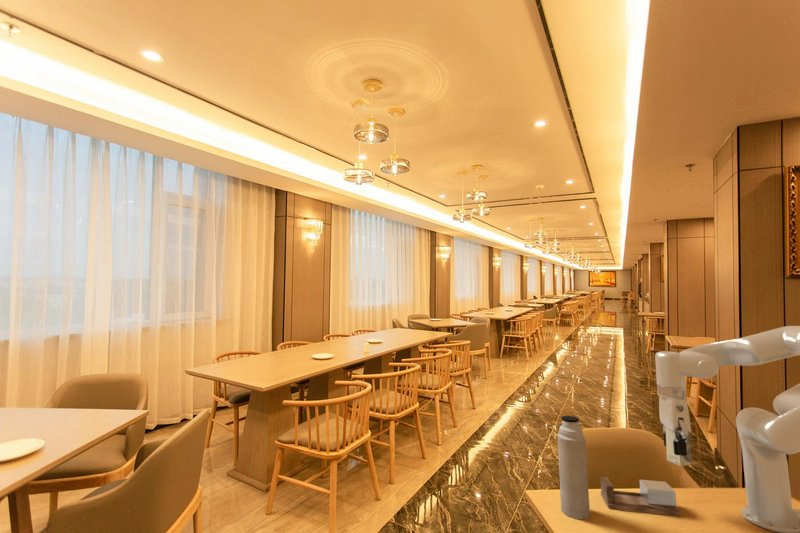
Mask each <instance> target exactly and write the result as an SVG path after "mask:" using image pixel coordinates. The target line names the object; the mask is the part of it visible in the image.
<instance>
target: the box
mask: <svg viewBox="0 0 800 533" xmlns="http://www.w3.org/2000/svg"><path fill="white" fill-rule="evenodd" d="M665 428H666V447H665V448H666V461H668V462H670V463H672V464H675V465H677V466H679V467H682V466H683V467H684V466H690V465H692V449H691V448H692V446H691V432H689V433H688V436H687V439H686V440H687V442H686V448H687V456H682V455H675V454H674V445H673V441H675V439H674V435H673V431H672V430H671V429H669V428H668V427H666V426H665ZM676 430H678V431H681V430H680V429H676ZM679 434H681V433H677V437H678V435H679Z"/></svg>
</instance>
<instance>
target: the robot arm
mask: <svg viewBox="0 0 800 533" xmlns="http://www.w3.org/2000/svg"><path fill="white" fill-rule="evenodd" d="M796 356H800V325H786V326H781V327H777V328H773V329H770V330H766V331H761V332H759V333H755V334H750V335H747V336H743V337H739V338H733V339H727V340H722V341H716V342H711V343H706V344H701V345H698V346H693V347H690V348H686V349H684V350H681V351H680V352H676V351H670V350H669V351H665V350H664V351H663V350H661V351H657V352H656V353H655V356H654V360H655V377H656V378H655V379H656V393H657V394H656V395H657V396H658V399H659V400H658V410H659V411H658V412H659V421H660V423H661V426H662V433H663V435H662V436H663V446H664V447H665V448H666V428H665V426H666V427H668V428H669V429H671V430H672V431H673V435H674V439H675V441H673V445H674V454H675V455H682V456H687V448H686V442H687V440H686V439H687V436H688V433H689V432H690V433H691V431H692V429H691V420H690V419H691V418H690V412H689V407H688V403H687V398H688V397H687V384H686V383H687V382H686V377H692V378H698V379H711V378H714V377H715V376H717V374H718V373H719V371H720V367H722V366H744V367H745V366H746V367H747V366H750V367H752V366H759V365H764V364H767V363H771V362H775V361H781V360H784V359H789V358H792V357H796ZM772 407H773V409H774V411H775V413H773V412H771V411H768V410H767V409H763V408H760V407H750V406H749V407H746V408H743V409H741V410H740V411H738V413H737V415H736V418H735V423H736V424H735V426H736V429H737V434H738V437H739V441H740V445H741V446H740V447H741V452H742V453H741V454H742V462H743V463H742V464H743V472H744V483H745V484H744V485H745V492H746V494H745V495H746V503H747V505H746V506H743V507H742V508H741V510H740V511H741V512H740V513H741V515H742V517H743V518H745V520H747V521H749V522H750V523H752V524H754V525H756V526H757V527H760V528H763V529H766V530H769V531H772V532H777V533H800V509H799V508H798V509H796V508H793V502H792V492H791V484H790V483H791V482H790V476H789V474H790V473H789V465H788V463H789V462H788V459H787V455H794V454H797V453H800V383H798V384H796V385H794V386H792V387H791V388H789V389H786V390H785V391H782V392H781V393H780V394H778V395H776V396H775V397H774V399H773V401H772ZM676 429H680V430H681V431H678V430H676ZM677 433H681V434H679V435H678V437H677Z"/></svg>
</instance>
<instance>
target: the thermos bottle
mask: <svg viewBox="0 0 800 533" xmlns="http://www.w3.org/2000/svg"><path fill="white" fill-rule="evenodd" d="M561 420H562V421H561V425H560V426H559V429H558V433H557V434H556V435H557V451H558V455H557V456H558V470H559V472H558V473H559V491H560V492H559V495H560V510H561V512H562V513H563V512H564V513H565V514H566V516H567V515H568V516H567V517H569V516H570V517H569V518H572V517H573V518H572V519H576V518H577V519H576V520H586V519H589V517H590V498H589V497H590V496H589V495H590V494H589V482H588V481H589V480H588V460H587V444H586V443H587V440H586V436H584V431H583V429H582V428H581V427H580V422H579V421H580V418H579V417H577V416H574V415H562V416H561ZM564 513H563V514H564ZM565 514H564V515H565Z"/></svg>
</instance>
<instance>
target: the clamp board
mask: <svg viewBox="0 0 800 533" xmlns="http://www.w3.org/2000/svg"><path fill="white" fill-rule="evenodd" d="M600 490H601V491H600V496H601V498H602V500H603V501H604V502H605V505H606V507H607V508H608V509H610V510H619V511H628V512H637V513H638V512H639V513H645V514H646V513H647V514H653V515H655V514H657V515H662V516H663V515H665V516H672V517H673V516H674V517H681V514H682V513H681V509H680V507H677V508H673V507H664V506H654V505H647V503H646V502H645V501H644V500H643V498H642V497H641V495H640V492H633V491H625V490H615V489H614V485H613V484H612V482H611V481H610V479H609V478H608V477H607V476H600Z"/></svg>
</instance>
